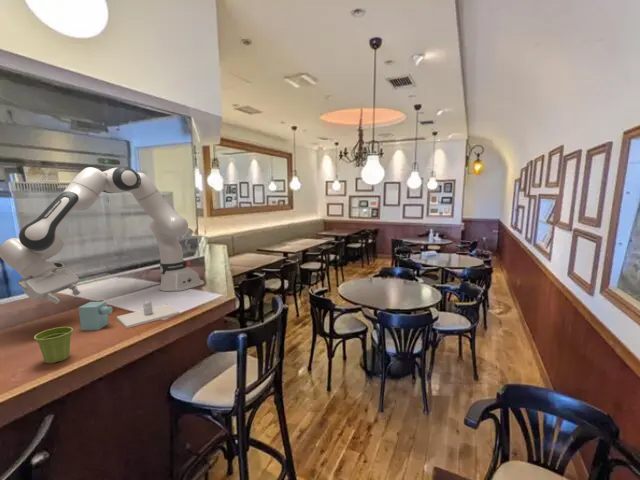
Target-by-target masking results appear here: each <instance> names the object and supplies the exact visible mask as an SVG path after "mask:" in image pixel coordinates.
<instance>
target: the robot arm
mask: <svg viewBox="0 0 640 480" xmlns="http://www.w3.org/2000/svg"><path fill="white" fill-rule="evenodd" d="M127 191H128V192H130V194H131V195H132V196H133V197H134V199H135V201H137V203H138V204H139V206H140V207H141V208H142V210H143V211H144V213H145V214H146V215H148V216H149V217H150V218H151V220H150V223H149V227H150V228H149V229H151V231H152V232H153V234H154V237H155V239H156V240H155V241H156V243H157V245H158V250H159V258H160V263H159V271H160V274H161V278H160V279H161V280H160V286H159V290H160V291H162V292H172V291H173V292H181V291H186V290H188V289H192V288H193V289H194V288H195V287H199V286H203V285H205V281H204V280H202V279H200V276H199V273H198V272H197V271H195V270H194V269H192V268H190V267H188V266H190V265H191V262H190V261H188V260H187V261H186V260H184V255H183V245H181V243H180V242H179V239H178V237H182V236H185V235H186V234H187V232H188V230H189V223H188V221H187V220H186V219H185V218H183V217H182V216H181V215H180V214H179V213H177V212H176V210H175V209H174V208H173V207H172V206H171V205H170V204H169V203H168V202H167V201H166V200H165V198H164V197H163V195H162V193H161V192H160V191H159V189H158V187H157V186H156V185H155V184H154V182H153V181H152V180H151V179H150V178H149V176H147V174H145V173H144V172H136V170H134V169H133V168H130V167H128V166H119V167H113V168H109V169H106V170H103V171H102V170H100V169H99V168H97V167H92V166H89V167H85V168H84V169H82V170H81V171H80V172H79V173H78V174H77V175H76V176H75V177H74V178H73V179H72V180H71V182H70V183H69V184H68V185H67V186H66V187H65V189H64V190H63V191H62V192H61V193H60V194H59V195H58V196H57V197H56V198H55V199H54V200H53V201H52V202H51V203H50V204H49V205H48V206H47V208H46V209H44V210H43V212H42V213H40V215H39V216H38V217H37V218H36V219H34V220H32V221H31V222H29V223H27V224H26V225H25V226H23V227H22V228H21V229H20V232H19V233H18V237H11V238H9V239H7V240H4V241H3V242H2V243H1V244H0V259H1V260H2V261H3V262H4V263H5V264H6V265H7V266H9V268H11V269H13V270H14V271H16V272H17V273H18V274H19V276H20V277H22V278H20V279H19V280H18V282H17V285H18V286H19V287H20V288H21V289H22V292H24V294H26V295H27V296H28V298H29V299H31V301H40V300H42V299H45V300H46V301H50V302H53V303H54V304H56V305H57V304H60V303H61V302H62V298H60V296H58V297H57V296H55V295H54V294H57V293H59V292H62V291H64V290H68V289H69V290H71V291H72V292H71V294H72V295H74V296H75V297H76V296H79V295H80V294H81V291H80V290H79V289H78V286H77V284H78V283H79V282H80V278H79V276H77V275H76V274H75V273H74V272H73V271H72V270H71V269H69V268H67V267H66V266H65V264H64V263H63V262H52V261H46V260H49V259H51V258H52V257H54V256H56V255H58V254H59V253H60V252H61V251H62V249H63V246H64V245H63V241H62V239H61V238H60V237H59V236H58V234H57V228H58V227H59V226H60V224H61V223H62V222H63V221H64V219H66V217H67V216H68V215H69V214H70V213H71V212H72V211H85V210H86V211H87V210H88V209H90V208H91V207H92V206H93V205H94V204H95V203H96V201H97V200H98V198H99V197H100V195H101V194H102V192H104V193H106V194H120V193H124V192H127Z"/></svg>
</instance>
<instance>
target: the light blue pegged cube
mask: <svg viewBox="0 0 640 480" xmlns="http://www.w3.org/2000/svg"><path fill="white" fill-rule="evenodd" d="M112 313H113V307H112V306H109V305H108V304H107V301H89V302H87V303H84V304H83V305H81V306H78V314H79V315H78V316H79V321H80V322H79V323H80V330H81V331H99V330H101V329H102V328H104V327H106V326H107V325H109V324H110V321H109V315H111V314H112Z"/></svg>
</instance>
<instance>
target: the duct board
mask: <svg viewBox="0 0 640 480" xmlns="http://www.w3.org/2000/svg"><path fill="white" fill-rule="evenodd" d="M142 305H143V307H142V308H143V309H142V310H138V311H134V312H129V313H125V314H121V315H117V316H116V320H117V321H119V322H120V323H121V324H122V325H123V326H124V328H126V329H129V328H132V327H133V328H134V327H137V326H141V325H144V324H148V323H151V322H156V321H158V320H163V319H166V318H170V317H174V316H177V315H181V314H180V311H179V310H178V309H176V308H174V307H173V306H171V305H169V304H167V303H166V304H162V305H158V306H155V307H153V304H152V302H151V301H150V300H146V301H144V302H143V304H142Z"/></svg>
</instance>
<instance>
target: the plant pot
mask: <svg viewBox="0 0 640 480" xmlns="http://www.w3.org/2000/svg"><path fill="white" fill-rule="evenodd" d="M73 330H74V329H73V327H71V326H59V327H53V328H49V329H46V330H43V331H41V332H38V333H36V334H35V335H34V337H33V338H34V340H35V341H36V343H37V344H38V346H39V348H40V352H41V355H42V357H43V361H44V362H45V363H46V364H56V363H58V362H62V361H65V360H66V359H69V358H70V355H71V351H70V350H71V336H72V333H73Z"/></svg>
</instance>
